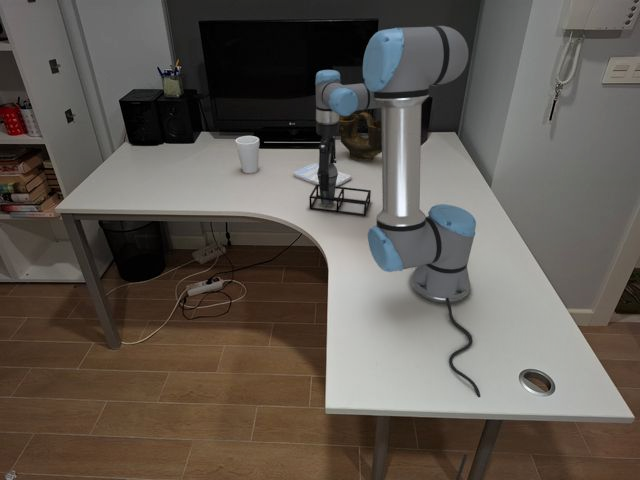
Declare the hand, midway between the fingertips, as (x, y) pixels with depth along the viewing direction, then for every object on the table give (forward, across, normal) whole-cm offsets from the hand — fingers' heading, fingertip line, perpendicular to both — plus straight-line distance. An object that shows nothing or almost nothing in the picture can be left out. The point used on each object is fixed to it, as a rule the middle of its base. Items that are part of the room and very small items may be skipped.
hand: (327, 185), depth 155 cm
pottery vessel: (+8, +45, -5) cm, 46 cm away
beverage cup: (+7, 0, 0) cm, 7 cm away
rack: (+8, 0, -5) cm, 9 cm away
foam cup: (+8, +21, +38) cm, 44 cm away
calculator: (+8, +21, +7) cm, 24 cm away
